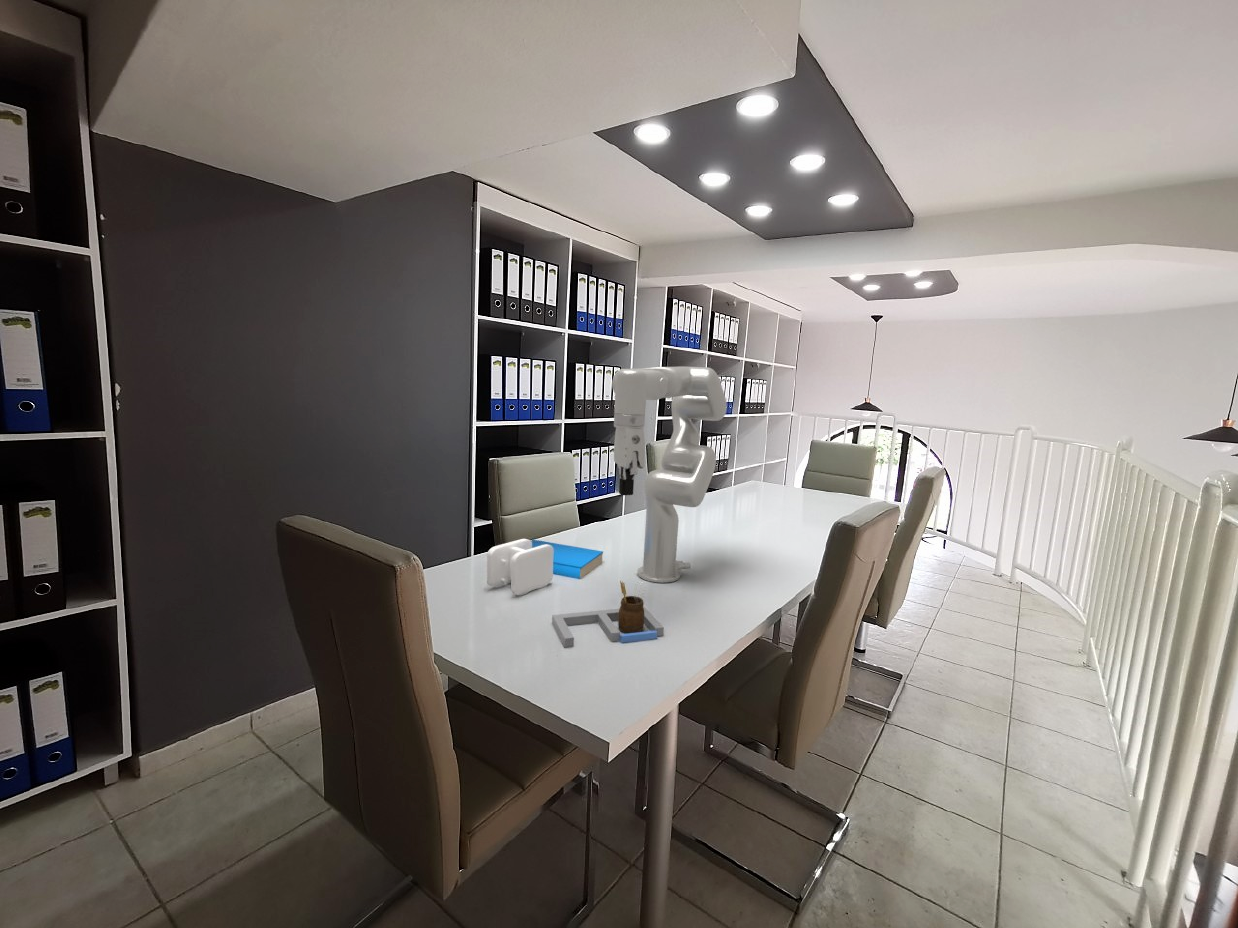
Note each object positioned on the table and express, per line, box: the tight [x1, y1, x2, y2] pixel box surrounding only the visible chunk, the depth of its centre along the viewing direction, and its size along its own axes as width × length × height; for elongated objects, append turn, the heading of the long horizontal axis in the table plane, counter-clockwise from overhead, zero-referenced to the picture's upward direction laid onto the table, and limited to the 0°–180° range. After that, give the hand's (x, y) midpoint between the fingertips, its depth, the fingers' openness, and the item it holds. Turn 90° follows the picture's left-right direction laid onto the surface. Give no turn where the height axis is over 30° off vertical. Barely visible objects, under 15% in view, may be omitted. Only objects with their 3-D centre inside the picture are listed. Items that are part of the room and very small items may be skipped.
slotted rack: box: [551, 605, 665, 648], centre depth 127 cm, size 23×13×2 cm, turn 110°
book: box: [530, 539, 604, 580], centre depth 170 cm, size 17×4×25 cm
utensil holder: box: [617, 580, 646, 634], centre depth 128 cm, size 6×6×12 cm
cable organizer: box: [486, 538, 554, 596], centre depth 150 cm, size 15×11×12 cm
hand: (626, 494), depth 139 cm, fingers closed
